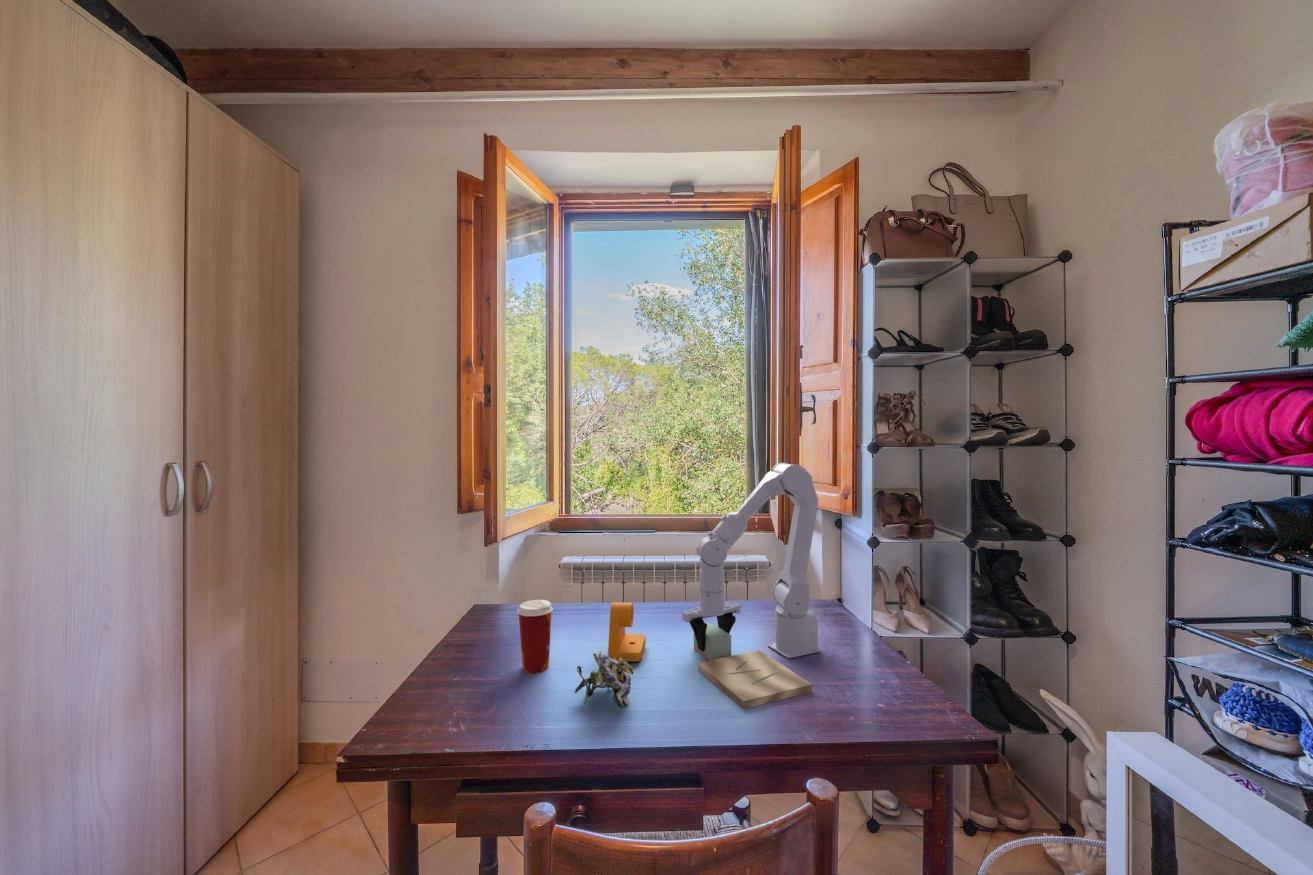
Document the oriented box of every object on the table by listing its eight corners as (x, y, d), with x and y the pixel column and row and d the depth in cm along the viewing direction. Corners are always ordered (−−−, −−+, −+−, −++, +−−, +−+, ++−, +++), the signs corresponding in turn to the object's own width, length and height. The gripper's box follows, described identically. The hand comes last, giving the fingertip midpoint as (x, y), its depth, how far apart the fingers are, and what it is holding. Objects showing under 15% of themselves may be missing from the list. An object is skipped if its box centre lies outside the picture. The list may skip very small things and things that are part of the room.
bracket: (640, 665, 117) (639, 611, 117) (608, 663, 118) (607, 610, 118) (646, 645, 128) (645, 596, 128) (616, 644, 129) (616, 595, 129)
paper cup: (560, 666, 117) (559, 603, 116) (530, 678, 111) (530, 612, 111) (539, 656, 122) (539, 596, 122) (510, 667, 116) (510, 604, 116)
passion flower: (624, 732, 100) (635, 699, 93) (567, 725, 99) (574, 692, 92) (627, 677, 109) (638, 643, 103) (575, 670, 108) (583, 635, 102)
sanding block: (712, 644, 128) (712, 622, 128) (731, 659, 120) (731, 635, 120) (693, 648, 126) (693, 625, 126) (711, 663, 118) (711, 638, 118)
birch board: (759, 656, 121) (759, 650, 121) (812, 691, 105) (812, 684, 105) (697, 669, 115) (697, 662, 115) (743, 709, 98) (743, 701, 98)
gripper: (729, 581, 129) (729, 636, 129) (676, 588, 124) (676, 646, 124) (745, 589, 123) (745, 647, 123) (690, 597, 117) (690, 658, 117)
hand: (712, 647), depth 123 cm, fingers closed on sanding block, 5 cm apart
